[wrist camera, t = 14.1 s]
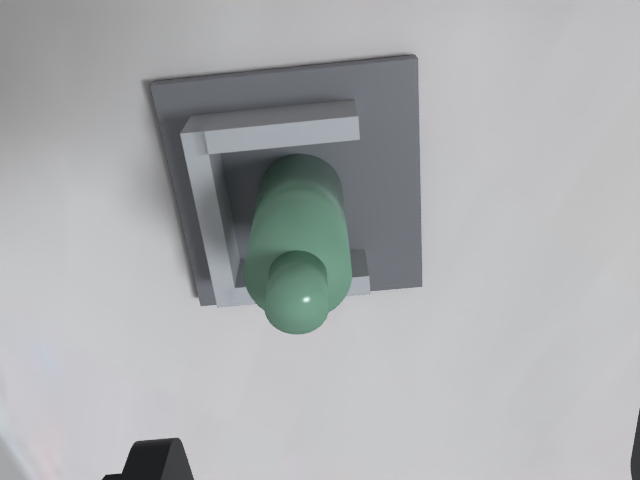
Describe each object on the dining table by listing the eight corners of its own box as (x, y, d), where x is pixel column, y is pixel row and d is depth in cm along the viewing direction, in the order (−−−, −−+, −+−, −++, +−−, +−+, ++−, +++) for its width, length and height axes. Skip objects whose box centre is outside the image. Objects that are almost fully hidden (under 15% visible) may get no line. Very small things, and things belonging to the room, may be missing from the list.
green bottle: (339, 149, 33) (351, 251, 23) (345, 226, 36) (359, 350, 26) (253, 158, 34) (228, 263, 23) (265, 234, 36) (247, 359, 26)
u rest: (414, 54, 32) (427, 71, 29) (419, 278, 39) (430, 314, 35) (154, 81, 33) (135, 101, 29) (203, 297, 39) (192, 335, 36)
